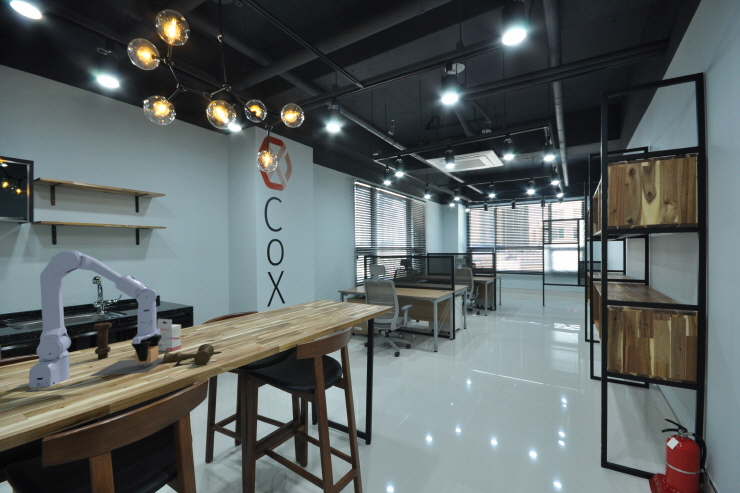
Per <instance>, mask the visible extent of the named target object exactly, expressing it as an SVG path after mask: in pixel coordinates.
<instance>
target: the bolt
mask: <svg viewBox="0 0 740 493" xmlns="http://www.w3.org/2000/svg"><path fill="white" fill-rule="evenodd" d="M112 326H113V324H112V322H98V323H94V325H93V330H97V348H95V349H94V354H95V355H97V359H98V360H105V359H107V358H109V353H110V352H111V350H112V348H111V346H109V329H110V328H111V327H112Z"/></svg>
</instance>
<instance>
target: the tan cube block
mask: <svg viewBox="0 0 740 493" xmlns="http://www.w3.org/2000/svg"><path fill="white" fill-rule="evenodd" d="M134 358H135V359H134V360H135V364H140V363H152V362H153V361H155V360H156V359H158V358H159V350H158V346H153V347H149V349H148V356H147V360H146V361H139V358H138V355H137V352H136V350H135V352H134Z"/></svg>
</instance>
